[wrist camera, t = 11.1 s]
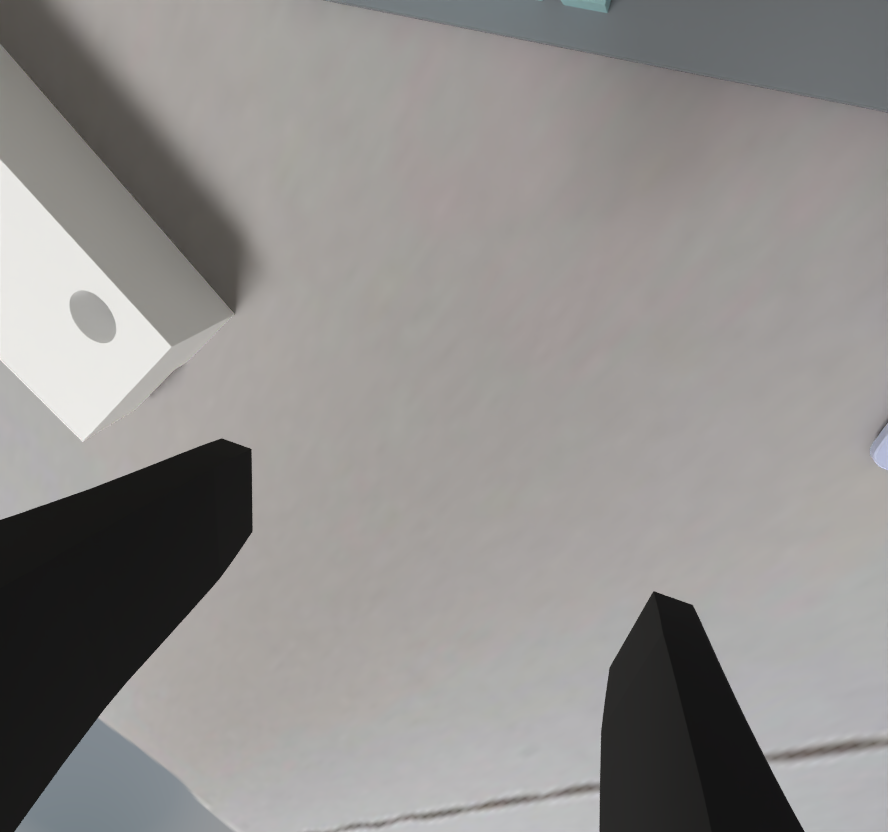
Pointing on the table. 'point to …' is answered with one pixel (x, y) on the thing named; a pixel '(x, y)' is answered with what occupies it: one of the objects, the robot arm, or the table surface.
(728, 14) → the rubber mat
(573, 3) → the teal frame
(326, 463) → the table surface
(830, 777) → the table surface
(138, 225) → the bracket
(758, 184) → the table surface
